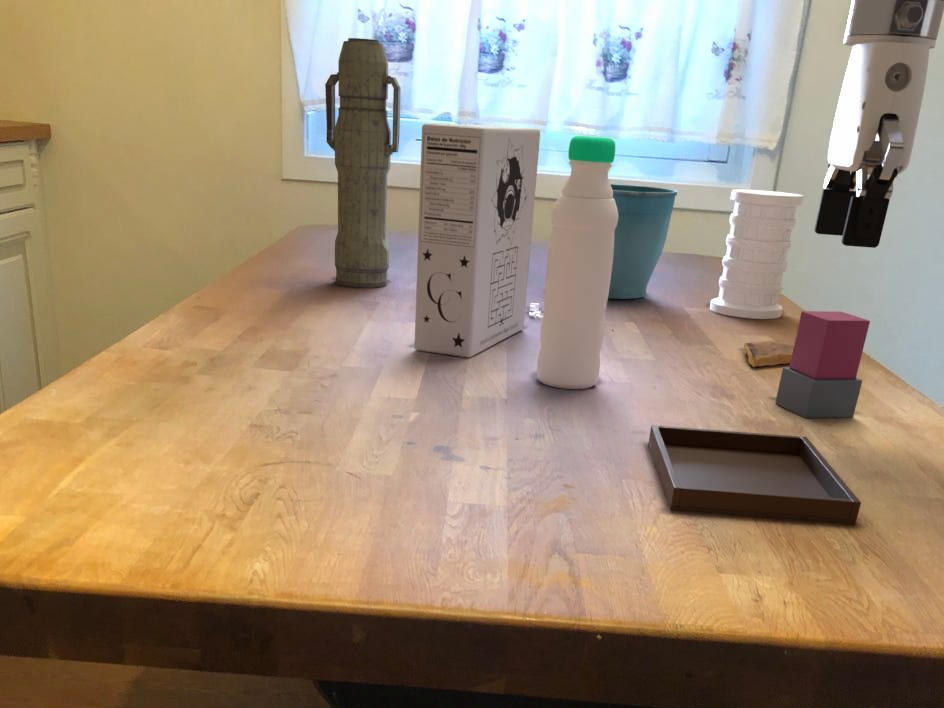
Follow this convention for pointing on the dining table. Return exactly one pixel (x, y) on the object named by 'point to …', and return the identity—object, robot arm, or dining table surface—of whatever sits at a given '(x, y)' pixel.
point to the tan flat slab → (769, 353)
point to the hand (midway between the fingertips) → (844, 240)
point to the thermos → (362, 160)
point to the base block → (817, 395)
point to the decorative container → (756, 254)
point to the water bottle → (579, 268)
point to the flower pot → (638, 237)
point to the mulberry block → (829, 344)
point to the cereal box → (473, 235)
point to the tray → (749, 476)
